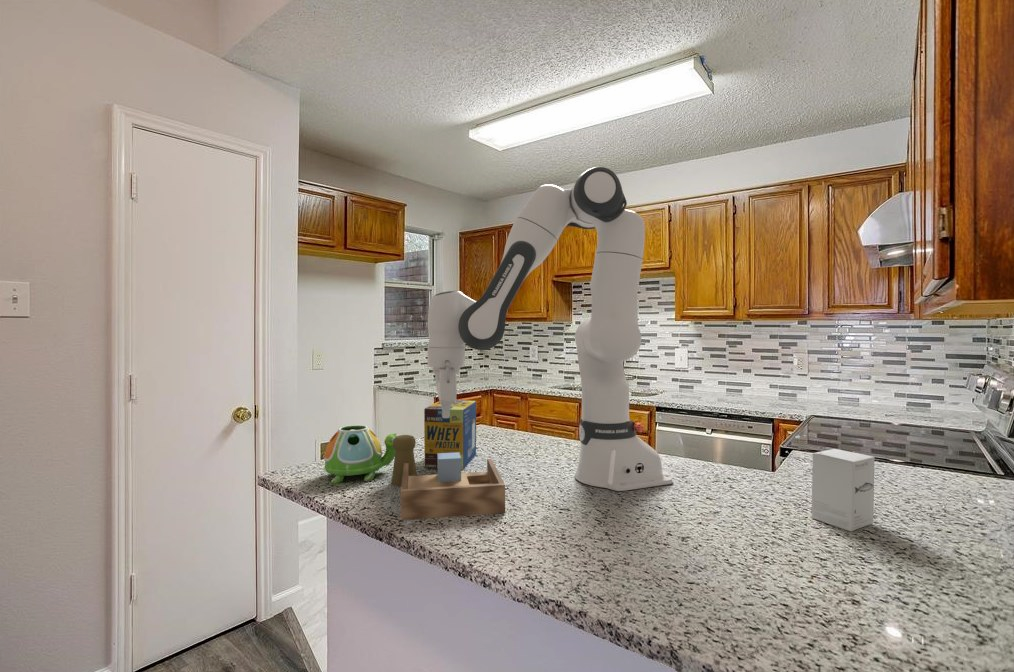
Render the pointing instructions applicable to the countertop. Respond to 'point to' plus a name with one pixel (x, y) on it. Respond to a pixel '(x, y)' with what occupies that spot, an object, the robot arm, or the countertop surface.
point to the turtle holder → (357, 453)
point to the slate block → (449, 467)
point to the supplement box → (843, 488)
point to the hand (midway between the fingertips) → (445, 417)
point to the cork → (403, 457)
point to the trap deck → (452, 494)
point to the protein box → (450, 432)
